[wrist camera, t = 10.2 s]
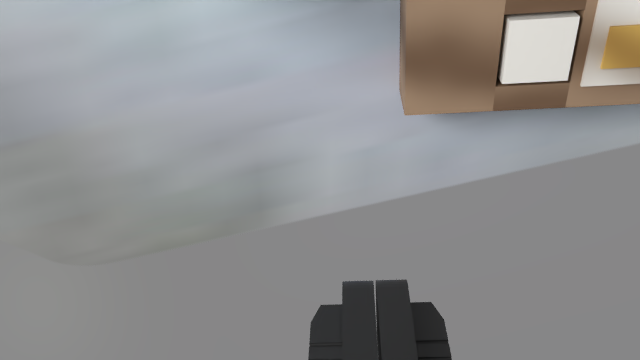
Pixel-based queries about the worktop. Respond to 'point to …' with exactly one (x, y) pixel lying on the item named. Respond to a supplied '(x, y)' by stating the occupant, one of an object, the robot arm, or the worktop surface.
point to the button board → (484, 48)
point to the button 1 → (537, 46)
